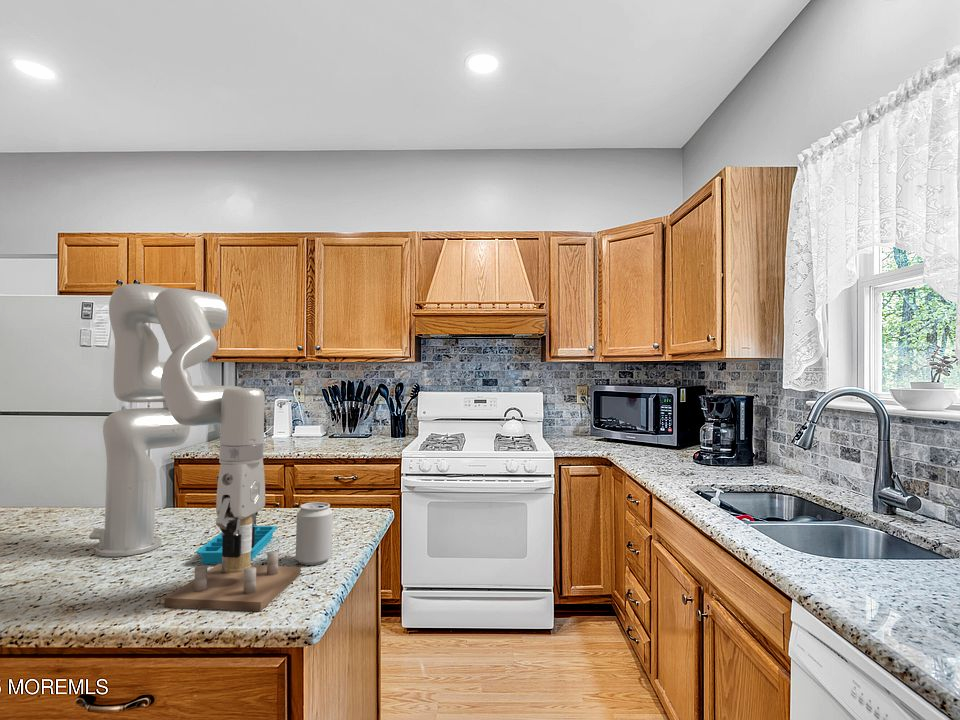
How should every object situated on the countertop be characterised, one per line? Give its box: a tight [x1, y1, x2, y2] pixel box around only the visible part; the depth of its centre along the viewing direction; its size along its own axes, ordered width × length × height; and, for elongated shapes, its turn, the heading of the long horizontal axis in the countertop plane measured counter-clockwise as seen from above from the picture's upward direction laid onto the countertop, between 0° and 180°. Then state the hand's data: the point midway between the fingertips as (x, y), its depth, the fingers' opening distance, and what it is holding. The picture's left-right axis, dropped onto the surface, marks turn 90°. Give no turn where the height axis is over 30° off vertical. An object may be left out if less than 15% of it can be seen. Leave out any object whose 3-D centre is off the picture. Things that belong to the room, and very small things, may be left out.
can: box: [295, 501, 334, 566], centre depth 117 cm, size 8×8×12 cm
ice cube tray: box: [195, 525, 278, 565], centre depth 123 cm, size 12×20×3 cm, turn 5°
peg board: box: [163, 550, 302, 612], centre depth 100 cm, size 17×17×6 cm
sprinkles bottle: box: [225, 514, 252, 573], centre depth 100 cm, size 5×5×13 cm
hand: (238, 551), depth 100 cm, fingers closed on sprinkles bottle, 4 cm apart
